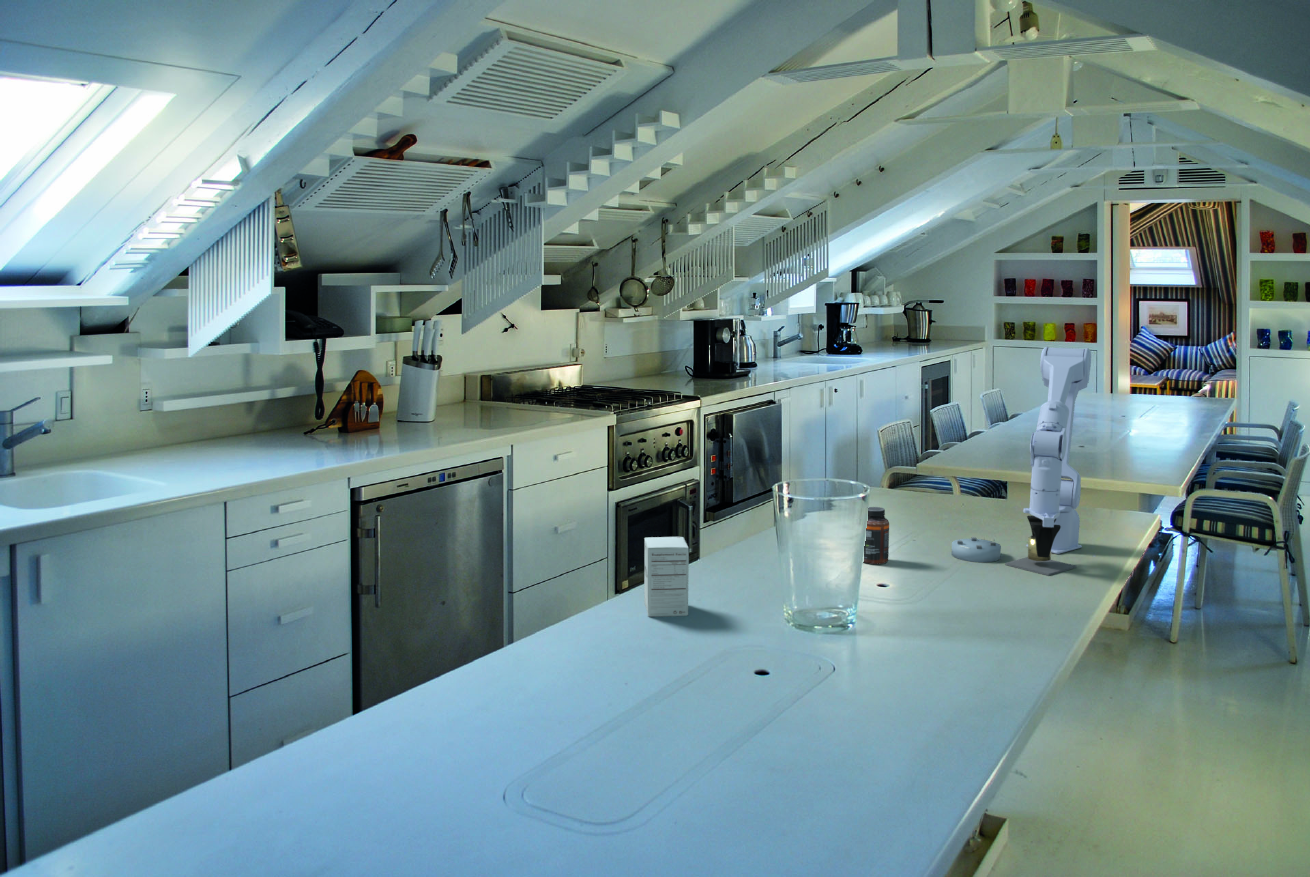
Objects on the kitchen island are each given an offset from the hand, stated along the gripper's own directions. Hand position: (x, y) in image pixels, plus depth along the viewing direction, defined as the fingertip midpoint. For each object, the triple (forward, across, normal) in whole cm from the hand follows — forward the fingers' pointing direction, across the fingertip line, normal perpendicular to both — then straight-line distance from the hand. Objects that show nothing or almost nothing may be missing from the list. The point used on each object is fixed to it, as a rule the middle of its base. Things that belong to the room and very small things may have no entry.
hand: (1041, 553), depth 218 cm
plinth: (+3, -5, -12) cm, 14 cm away
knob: (+1, 0, 0) cm, 1 cm away
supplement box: (+3, +46, -69) cm, 83 cm away
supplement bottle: (+3, +4, -34) cm, 34 cm away
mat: (+3, 0, 0) cm, 3 cm away
